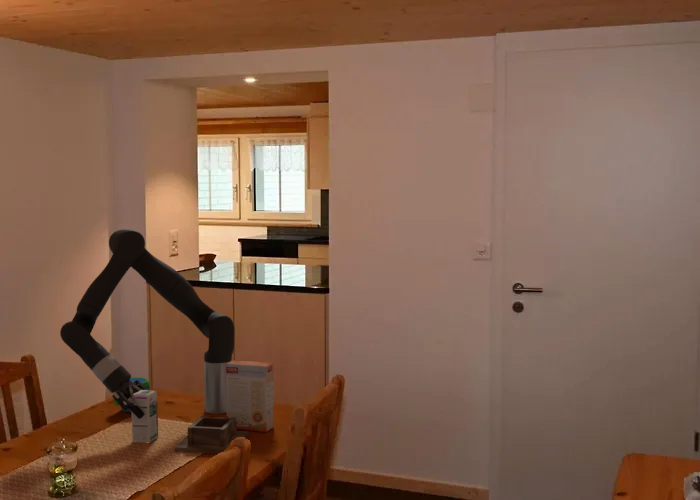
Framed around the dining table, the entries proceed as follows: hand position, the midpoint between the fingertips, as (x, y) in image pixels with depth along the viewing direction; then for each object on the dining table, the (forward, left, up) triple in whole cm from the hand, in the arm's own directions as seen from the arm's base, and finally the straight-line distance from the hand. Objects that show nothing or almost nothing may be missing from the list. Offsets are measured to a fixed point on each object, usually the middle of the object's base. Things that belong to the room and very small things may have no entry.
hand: (148, 412), depth 224 cm
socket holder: (0, +20, -8) cm, 22 cm away
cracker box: (-16, +27, -9) cm, 32 cm away
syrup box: (0, -1, -9) cm, 9 cm away
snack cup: (-29, -18, -9) cm, 35 cm away
